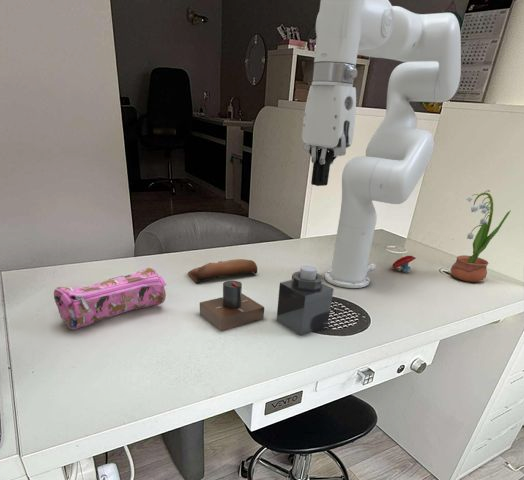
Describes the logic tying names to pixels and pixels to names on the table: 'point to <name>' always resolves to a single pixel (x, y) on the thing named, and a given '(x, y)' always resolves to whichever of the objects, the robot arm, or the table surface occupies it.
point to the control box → (231, 313)
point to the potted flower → (477, 246)
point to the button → (403, 263)
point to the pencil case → (109, 298)
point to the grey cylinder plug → (308, 272)
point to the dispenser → (304, 304)
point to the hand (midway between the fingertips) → (319, 184)
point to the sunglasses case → (223, 269)
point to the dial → (232, 294)
